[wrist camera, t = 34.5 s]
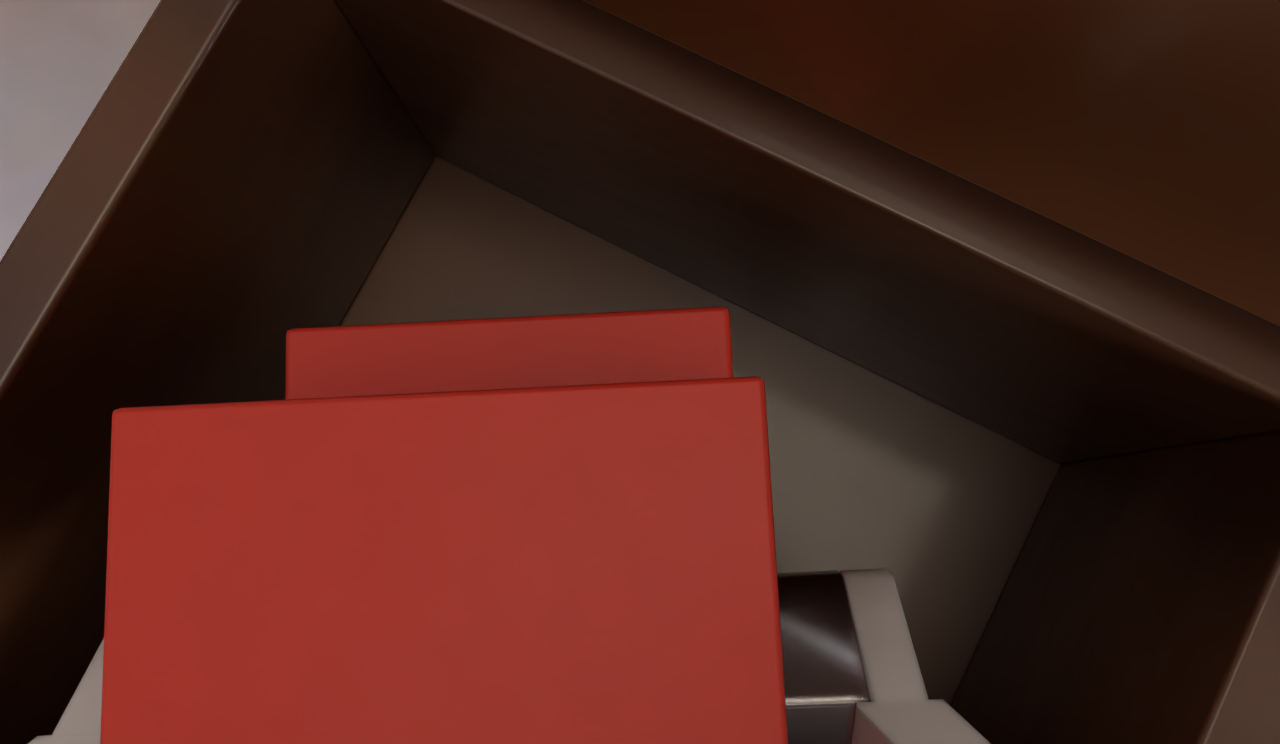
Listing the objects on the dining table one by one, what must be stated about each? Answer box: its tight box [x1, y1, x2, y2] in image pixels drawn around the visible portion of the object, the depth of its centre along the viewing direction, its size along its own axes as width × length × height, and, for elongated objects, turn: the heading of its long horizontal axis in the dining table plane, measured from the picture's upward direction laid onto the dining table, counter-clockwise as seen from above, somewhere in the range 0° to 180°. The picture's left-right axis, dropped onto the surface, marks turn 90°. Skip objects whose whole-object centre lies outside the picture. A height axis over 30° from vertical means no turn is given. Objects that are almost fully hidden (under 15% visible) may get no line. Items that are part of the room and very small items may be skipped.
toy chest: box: [0, 0, 1280, 744], centre depth 13 cm, size 14×14×8 cm
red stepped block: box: [100, 307, 788, 744], centre depth 11 cm, size 8×5×8 cm, turn 3°
